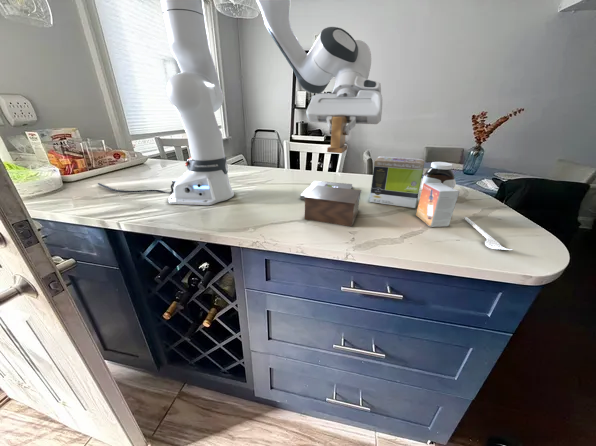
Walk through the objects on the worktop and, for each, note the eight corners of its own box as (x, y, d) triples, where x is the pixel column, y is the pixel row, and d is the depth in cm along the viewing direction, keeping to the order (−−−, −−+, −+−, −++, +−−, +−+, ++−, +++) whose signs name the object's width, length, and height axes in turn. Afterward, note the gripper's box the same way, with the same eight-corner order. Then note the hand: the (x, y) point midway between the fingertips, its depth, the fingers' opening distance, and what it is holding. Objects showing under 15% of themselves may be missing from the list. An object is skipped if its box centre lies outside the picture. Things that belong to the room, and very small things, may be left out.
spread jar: (420, 195, 92) (427, 164, 87) (419, 187, 101) (425, 158, 96) (456, 199, 88) (466, 167, 83) (451, 190, 97) (460, 161, 92)
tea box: (416, 199, 87) (425, 158, 81) (415, 209, 79) (425, 163, 73) (373, 194, 93) (378, 154, 87) (368, 202, 85) (374, 159, 79)
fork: (470, 219, 72) (472, 214, 71) (512, 256, 54) (515, 249, 53) (458, 219, 73) (460, 213, 72) (496, 255, 55) (499, 248, 54)
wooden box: (303, 219, 72) (303, 197, 69) (316, 205, 83) (316, 185, 80) (352, 227, 68) (354, 203, 65) (358, 211, 78) (361, 190, 75)
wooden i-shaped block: (327, 152, 64) (329, 116, 61) (333, 148, 70) (335, 115, 66) (342, 153, 63) (345, 117, 59) (347, 149, 69) (350, 116, 65)
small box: (415, 215, 75) (422, 182, 70) (432, 215, 75) (441, 182, 71) (430, 227, 67) (439, 191, 63) (449, 226, 68) (460, 190, 63)
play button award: (300, 195, 87) (314, 180, 104) (300, 199, 88) (314, 184, 105) (345, 200, 83) (352, 184, 100) (345, 204, 83) (352, 187, 101)
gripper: (310, 84, 69) (298, 123, 65) (386, 82, 62) (378, 126, 58) (315, 102, 74) (303, 139, 70) (385, 102, 68) (377, 143, 64)
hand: (338, 133), depth 64 cm, fingers closed on wooden i-shaped block, 3 cm apart
